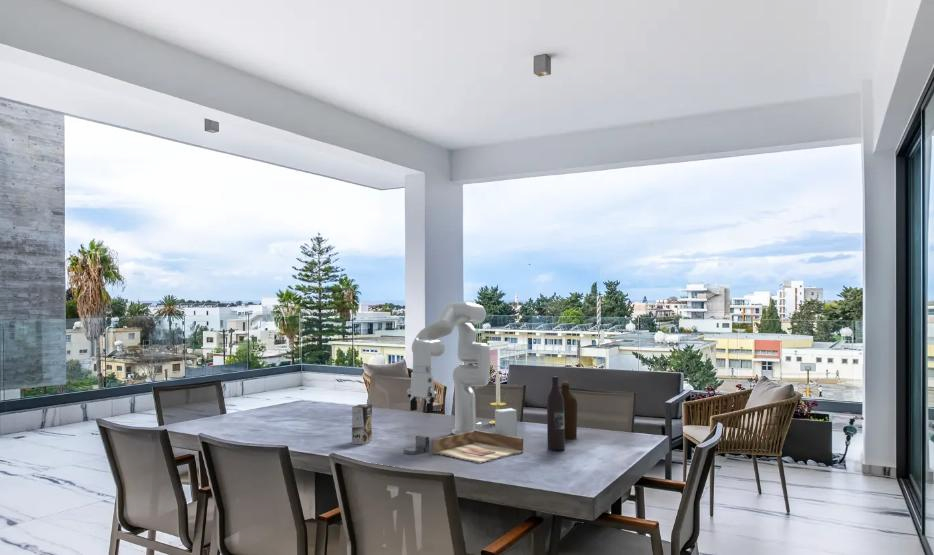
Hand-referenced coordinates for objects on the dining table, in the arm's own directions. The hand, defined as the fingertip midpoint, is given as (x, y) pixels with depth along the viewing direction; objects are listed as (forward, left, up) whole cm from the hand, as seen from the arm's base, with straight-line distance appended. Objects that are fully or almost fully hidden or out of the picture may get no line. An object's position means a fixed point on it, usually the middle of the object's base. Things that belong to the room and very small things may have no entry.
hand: (421, 411), depth 263 cm
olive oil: (-62, +29, -16) cm, 70 cm away
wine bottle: (-39, +40, -16) cm, 58 cm away
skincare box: (-33, +18, -16) cm, 41 cm away
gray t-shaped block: (+3, 0, -16) cm, 16 cm away
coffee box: (+6, -32, -16) cm, 36 cm away
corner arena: (-13, +20, -16) cm, 29 cm away
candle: (-69, -17, -16) cm, 73 cm away
